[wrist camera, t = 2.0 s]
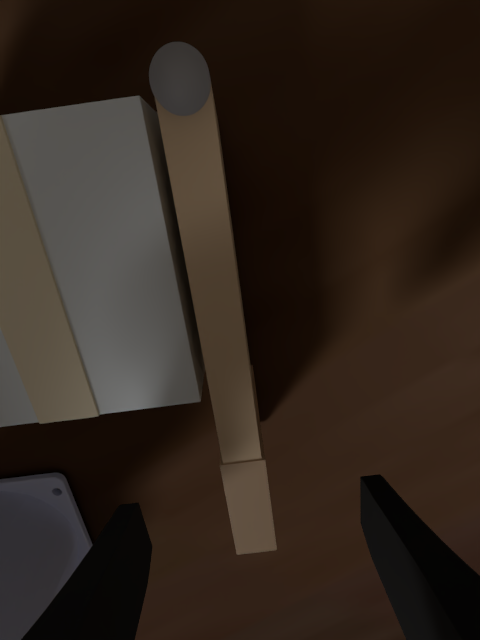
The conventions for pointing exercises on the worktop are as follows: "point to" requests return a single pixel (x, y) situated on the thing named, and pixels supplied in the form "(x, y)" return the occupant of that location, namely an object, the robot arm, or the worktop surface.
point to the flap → (214, 283)
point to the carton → (91, 267)
